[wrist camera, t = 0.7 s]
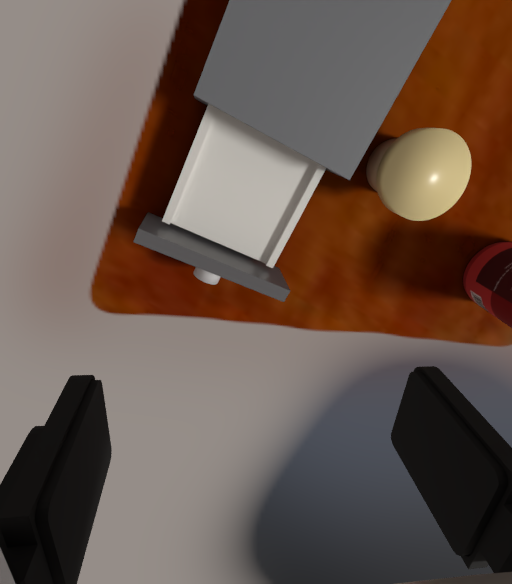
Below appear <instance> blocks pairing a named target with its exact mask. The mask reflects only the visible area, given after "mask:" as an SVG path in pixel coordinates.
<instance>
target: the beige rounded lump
mask: <svg viewBox="0 0 512 584" xmlns="http://www.w3.org/2000/svg"><path fill="white" fill-rule="evenodd" d="M395 140H396V139H390V140H387V141H384V142H383V143H381V144H380V145H379V146H377V147H376V148H375V150H374V151H373V152H372V154H371V155H370V157H369V160H368V163H367V167H366V175H367V180H368V182H369V184H370V186H371V187H372V188H373V189H374V190H375V191H377V185H376V176H377V170H378V167H379V164H380V161H381V159H382V157H383V155H384V153H385V152H386V150H387V149H388V148H389V146H390V145H391V144H392V143H393V142H394V141H395ZM377 192H378V191H377Z"/></svg>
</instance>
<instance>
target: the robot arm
mask: <svg viewBox="0 0 512 584" xmlns="http://www.w3.org/2000/svg"><path fill="white" fill-rule="evenodd" d="M391 440H392V443H393V446H394V448H395V449H396V451H397V453H398V455H399V456H400V458H401V460H402V461H403V463H404V465H405V467H406V469H407V470H408V472H409V474H410V476H411V477H412V479H413V481H414V482H415V484H416V486H417V488H418V490H419V492H420V493H421V495H422V497H423V499H424V500H425V502H426V504H427V505H428V507H429V509H430V511H431V513H432V514H433V516H434V518H435V519H436V521H437V523H438V525H439V527H440V528H441V530H442V532H443V534H444V535H445V537H446V539H447V541H448V542H449V544H450V546H451V548H452V549H453V551H454V552H455V553H456V554H457V555H459V556H461V557H462V559H463V561H464V562H465V564H466V566H467V568H468V569H474V568H483V567H487V566H488V564H489V566H490V567H491V569H492V570H493V572H494V573H492V574H481V575H471V576H462V577H453V578H444V579H434V580H426V581H416V582H407V583H397V584H512V448H511V447H510V446H509V444H508V443H507V442H506V441H505V440H504V439H503V438H502V437H501V436H500V435H499V434H498V433H497V431H496V430H495V429H494V428H493V427H492V426H491V425H490V424H489V423H488V422H487V420H486V419H485V418H484V417H483V416H482V415H481V414H480V413H479V412H478V411H477V410H476V409H475V407H474V406H473V405H472V404H471V403H470V402H469V401H468V400H467V399H466V398H465V397H464V395H463V394H462V393H461V392H460V391H459V390H458V389H457V388H456V387H455V386H454V385H453V384H452V382H450V380H449V379H448V378H447V377H446V376H445V375H444V374H443V373H442V372H441V371H440V369H438V368H437V367H434V366H432V367H417V368H415V370H414V372H411V373H410V375H409V378H408V381H407V384H406V387H405V390H404V394H403V397H402V400H401V404H400V407H399V410H398V413H397V416H396V420H395V423H394V426H393V430H392V433H391ZM110 460H111V442H110V435H109V428H108V422H107V415H106V408H105V401H104V394H103V388H102V382H101V380H95V377H94V376H93V375H80V376H79V375H77V376H76V375H75V376H71V377H70V378H69V379H68V381H67V383H66V385H65V387H64V389H63V391H62V393H61V395H60V397H59V399H58V401H57V403H56V405H55V406H54V408H53V410H52V412H51V414H50V416H49V418H48V420H47V422H46V424H45V426H35V427H34V428H33V429H32V430H31V431H30V433H29V434H28V436H27V438H26V440H25V441H24V443H23V445H22V447H21V448H20V450H19V452H18V454H17V456H16V457H15V459H14V461H13V463H12V465H11V466H10V468H9V470H8V472H7V474H6V475H5V477H4V479H3V481H2V483H1V484H0V584H77V581H78V577H79V573H80V570H81V566H82V562H83V559H84V555H85V551H86V547H87V544H88V540H89V537H90V533H91V530H92V526H93V522H94V518H95V515H96V511H97V507H98V504H99V500H100V497H101V493H102V489H103V485H104V482H105V479H106V475H107V471H108V468H109V464H110Z"/></svg>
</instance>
